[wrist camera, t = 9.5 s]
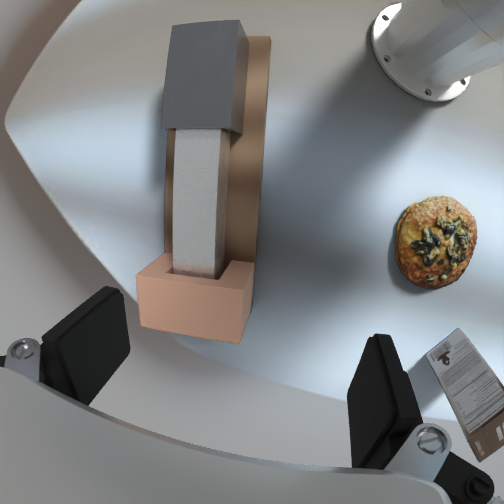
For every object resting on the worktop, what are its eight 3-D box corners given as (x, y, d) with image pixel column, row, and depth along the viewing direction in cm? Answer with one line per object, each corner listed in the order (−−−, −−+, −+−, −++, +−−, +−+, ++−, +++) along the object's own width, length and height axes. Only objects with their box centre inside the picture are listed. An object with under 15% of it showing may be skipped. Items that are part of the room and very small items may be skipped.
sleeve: (193, 46, 25) (172, 25, 20) (249, 44, 25) (239, 19, 19) (185, 133, 28) (160, 128, 23) (242, 134, 28) (230, 127, 22)
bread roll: (425, 304, 32) (440, 318, 27) (371, 237, 32) (380, 243, 27) (483, 242, 29) (504, 248, 24) (434, 173, 29) (451, 169, 24)
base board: (181, 44, 27) (177, 40, 25) (271, 41, 26) (269, 36, 24) (171, 295, 36) (167, 300, 34) (252, 306, 35) (250, 312, 33)
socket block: (165, 252, 33) (135, 274, 26) (254, 262, 32) (243, 289, 25) (167, 296, 34) (140, 326, 28) (250, 309, 33) (239, 343, 27)
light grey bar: (192, 115, 27) (177, 109, 23) (232, 115, 26) (222, 108, 23) (187, 290, 32) (174, 306, 29) (222, 294, 32) (213, 312, 28)
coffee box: (476, 361, 33) (521, 432, 18) (443, 386, 35) (479, 464, 20) (458, 325, 32) (516, 402, 17) (422, 354, 34) (465, 441, 18)
